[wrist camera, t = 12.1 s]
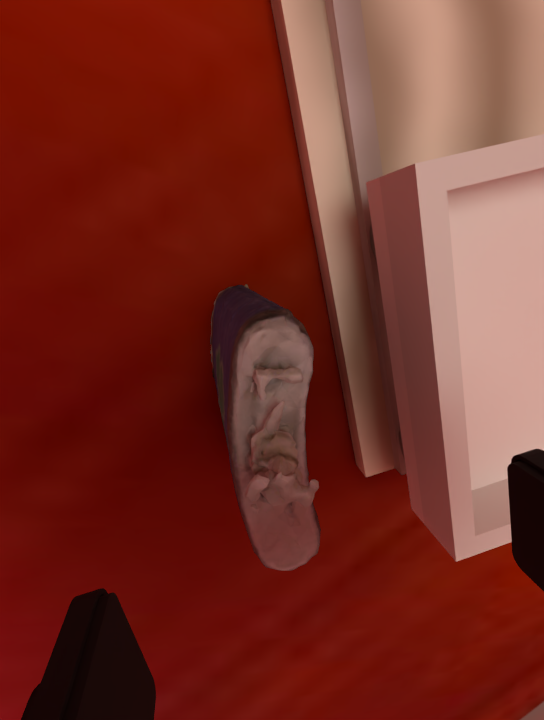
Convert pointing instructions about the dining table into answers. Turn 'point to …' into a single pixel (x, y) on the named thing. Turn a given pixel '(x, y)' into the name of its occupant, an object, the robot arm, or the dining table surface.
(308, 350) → the flask
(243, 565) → the dining table surface
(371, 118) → the rail board
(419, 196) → the pink rimmed tray
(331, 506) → the dining table surface
